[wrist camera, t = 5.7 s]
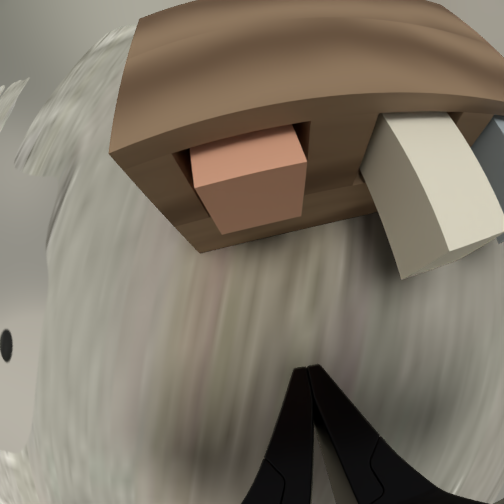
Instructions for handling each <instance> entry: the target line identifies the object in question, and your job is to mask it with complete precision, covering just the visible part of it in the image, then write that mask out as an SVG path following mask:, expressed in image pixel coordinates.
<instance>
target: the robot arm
mask: <svg viewBox="0 0 504 504" xmlns="http://www.w3.org/2000/svg"><path fill="white" fill-rule="evenodd" d="M314 427H315V431H316V434H317V438H318V441H319V444H320V448H321V451H322V455H323V458H324V462H325V465H326V469H327V472H328V476H329V479H330V483H331V486H332V490H333V494H334V497H335V501H336V504H488V503H484V502H479V501H475V500H471V499H467V498H464V497H460V496H457V495H454V494H450V493H448V492H445V491H443V490H442V489H440V488H438V487H437V486H435V485H434V484H433V483H431V482H430V481H429V480H427V479H426V478H425V477H424V476H422V475H421V474H420V473H419V472H417V471H416V470H415V469H414V468H412V467H411V466H410V465H409V464H408V463H407V462H405V461H404V460H403V459H402V458H401V457H400V456H399V455H398V454H397V453H396V452H395V451H394V450H393V449H392V448H391V447H390V446H389V445H388V444H387V443H386V441H385V440H384V439H383V438H382V437H379V436H380V435H379V434H378V432H377V431H376V430H375V429H374V428H373V427H372V425H371V424H370V423H369V422H368V421H367V420H366V418H365V417H364V416H363V415H362V414H361V413H360V411H359V410H358V409H357V408H356V407H355V406H354V404H353V403H352V402H351V401H350V400H349V399H348V397H347V396H346V395H345V394H344V393H343V391H342V390H341V389H340V388H339V387H338V386H337V384H336V383H335V382H334V381H333V380H332V378H331V377H330V376H329V375H328V374H327V372H326V371H325V370H324V369H323V368H322V366H321V365H319V364H315V365H310V366H308V367H307V368H306V367H298V368H294V369H293V372H292V375H291V379H290V382H289V385H288V388H287V392H286V395H285V398H284V401H283V404H282V407H281V410H280V413H279V416H278V419H277V422H276V425H275V428H274V431H273V434H272V437H271V439H270V442H269V445H268V448H267V450H266V453H265V456H264V458H265V459H263V461H262V463H261V466H260V469H259V471H258V473H257V475H256V478H255V480H254V482H253V484H252V486H251V488H250V490H249V491H248V493H247V495H246V497H245V498H244V500H243V502H242V503H241V504H311V503H312V484H313V453H314ZM494 504H504V498H503V499H501V500H500V501H498V502H496V503H494Z"/></svg>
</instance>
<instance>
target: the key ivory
mask: <svg viewBox="0 0 504 504" xmlns="http://www.w3.org/2000/svg"><path fill="white" fill-rule="evenodd" d="M359 169H360V171H361V173H362V175H363V177H364V180H365V182H366V184H367V187H368V189H369V191H370V194H371V196H372V198H373V201H374V203H375V206H376V208H377V211H378V213H379V216H380V218H381V221H382V224H383V226H384V229H385V232H386V234H387V237H388V240H389V243H390V246H391V249H392V252H393V255H394V258H395V261H396V264H397V267H398V270H399V274H400V277H401V280H402V279H405V278H408V277H411V276H414V275H417V274H420V273H423V272H426V271H429V270H432V269H435V268H438V267H440V266H443V265H446V264H449V263H451V262H454V261H457V260H459V259H461V258H463V257H464V256H466V255H468V254H470V253H472V252H473V251H475V250H477V249H478V248H480V247H482V246H483V245H485V244H487V243H488V242H490V241H492V240H493V239H495V238H497V237H498V236H500V235H501V234H503V233H504V214H503V211H502V209H501V207H500V204H499V202H498V200H497V198H496V195H495V193H494V191H493V189H492V187H491V185H490V183H489V181H488V179H487V177H486V175H485V173H484V171H483V169H482V167H481V166H480V164H479V162H478V160H477V158H476V157H475V155H474V153H473V152H472V150H471V148H470V146H469V145H468V143H467V142H466V140H465V138H464V137H463V135H462V134H461V132H460V131H459V129H458V128H457V126H456V125H455V123H454V122H453V120H452V119H451V117H450V116H449V115H448V113H447V112H441V111H419V112H391V113H379V114H378V117H377V120H376V123H375V126H374V129H373V132H372V135H371V137H370V140H369V143H368V146H367V149H366V151H365V154H364V157H363V159H362V162H361V165H360V167H359Z"/></svg>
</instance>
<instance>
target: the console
mask: <svg viewBox="0 0 504 504" xmlns="http://www.w3.org/2000/svg"><path fill="white" fill-rule="evenodd" d="M419 111H441V112H447V113H448V115H449V116H450V117H451V119H452V120H453V122H454V123H455V125H456V126H457V128H458V129H459V131H460V132H461V134H462V135H463V137H464V138H465V140H466V142H467V143H468V145H469V146H470V148H471V146H472V145H473V144H474V142H475V141H476V140H477V138H478V137H479V135H480V134H481V133H482V131H483V130H484V129H485V127H486V126H487V124H488V123H489V121H490V120H491V119H492V117H493V116H494V115H502V116H504V57H503V56H502V55H501V54H500V53H499V52H497V51H496V50H495V49H494V48H493V47H492V46H491V45H490V44H489V43H488V42H487V41H486V40H485V39H484V38H483V37H481V36H480V35H479V34H478V33H477V32H476V31H474V30H473V29H472V28H471V27H470V26H468V25H467V24H466V23H464V22H463V21H462V20H461V19H459V18H458V17H457V16H456V15H454V14H453V13H452V12H450V11H449V10H447V9H446V8H445V7H443V6H442V5H440V4H437V3H433V2H429V1H426V0H196V1H192V2H188V3H185V4H181V5H178V6H174V7H171V8H168V9H165V10H162V11H159V12H156V13H154V14H151V15H148V16H145V17H143V18H140V19H139V22H138V25H137V28H136V31H135V34H134V37H133V40H132V43H131V46H130V50H129V53H128V57H127V60H126V64H125V68H124V72H123V76H122V80H121V85H120V89H119V94H118V98H117V103H116V109H115V114H114V120H113V126H112V132H111V139H110V146H109V155H110V156H111V157H112V158H113V159H114V160H115V162H116V163H117V164H118V165H119V166H120V167H121V168H122V170H123V171H124V172H125V173H126V174H127V175H128V176H129V177H130V179H131V180H132V181H133V182H134V183H135V184H136V185H137V186H138V188H139V189H140V190H141V191H142V192H143V193H144V194H145V195H146V196H147V197H148V199H149V200H150V201H151V202H152V203H153V204H154V205H155V206H156V207H157V208H158V210H159V211H160V212H161V213H162V214H163V215H164V216H165V217H166V218H167V219H168V220H169V221H170V222H171V224H172V225H173V226H174V227H175V228H176V229H177V230H178V231H179V232H180V233H181V234H182V235H183V236H184V237H185V238H186V239H187V241H188V242H189V243H190V244H191V245H192V246H193V247H194V248H195V249H196V250H197V251H198V252H199V253H203V252H207V251H211V250H216V249H220V248H224V247H228V246H232V245H236V244H241V243H245V242H249V241H253V240H258V239H262V238H266V237H270V236H274V235H279V234H283V233H287V232H292V231H296V230H300V229H305V228H309V227H313V226H318V225H322V224H326V223H331V222H335V221H339V220H344V219H348V218H353V217H357V216H362V215H366V214H371V213H375V212H378V211H377V208H376V206H375V203H374V201H373V198H372V196H371V194H370V191H369V189H368V187H367V184H366V182H365V180H364V177H363V175H362V173H361V171H360V169H359V167H360V165H361V162H362V159H363V157H364V154H365V151H366V149H367V146H368V143H369V140H370V137H371V135H372V132H373V129H374V126H375V123H376V120H377V117H378V114H379V113H391V112H419ZM289 124H292V126H293V128H294V130H295V133H296V135H297V138H298V140H299V142H300V145H301V147H302V150H303V152H304V155H305V157H306V160H307V169H306V179H305V188H304V197H303V206H302V214H301V216H300V217H295V218H291V219H286V220H282V221H278V222H273V223H269V224H265V225H261V226H256V227H252V228H248V229H244V230H240V231H236V232H231V233H227V234H223V235H222V234H221V233H220V231H219V229H218V228H217V226H216V224H215V223H214V221H213V219H212V217H211V216H210V214H209V212H208V211H207V209H206V207H205V206H204V204H203V202H202V200H201V199H200V197H199V195H198V194H197V192H196V190H195V188H194V181H193V173H192V164H191V156H190V148H191V147H194V146H198V145H201V144H205V143H209V142H212V141H216V140H220V139H224V138H228V137H232V136H236V135H240V134H245V133H249V132H253V131H258V130H263V129H268V128H273V127H278V126H283V125H289Z"/></svg>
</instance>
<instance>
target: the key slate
mask: <svg viewBox="0 0 504 504" xmlns="http://www.w3.org/2000/svg"><path fill="white" fill-rule="evenodd" d="M471 150H472V152H473V153H474V155H475V157H476V158H477V160H478V162H479V164H480V166H481V167H482V169H483V171H484V173H485V175H486V177H487V179H488V181H489V183H490V185H491V187H492V189H493V191H494V193H495V195H496V198H497V200H498V202H499V204H500V207H501V209H502V211H503V214H504V116H502V115H494V116H493V117H492V119H491V120H490V121H489V123H488V124H487V126H486V127H485V129H484V130H483V131H482V133H481V134H480V135H479V137H478V138H477V140H476V141H475V142H474V144H473V145H472V146H471ZM497 241H498V244H499V243H502V242H504V233H503V234H501V235H500V236H498V237H497Z"/></svg>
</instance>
